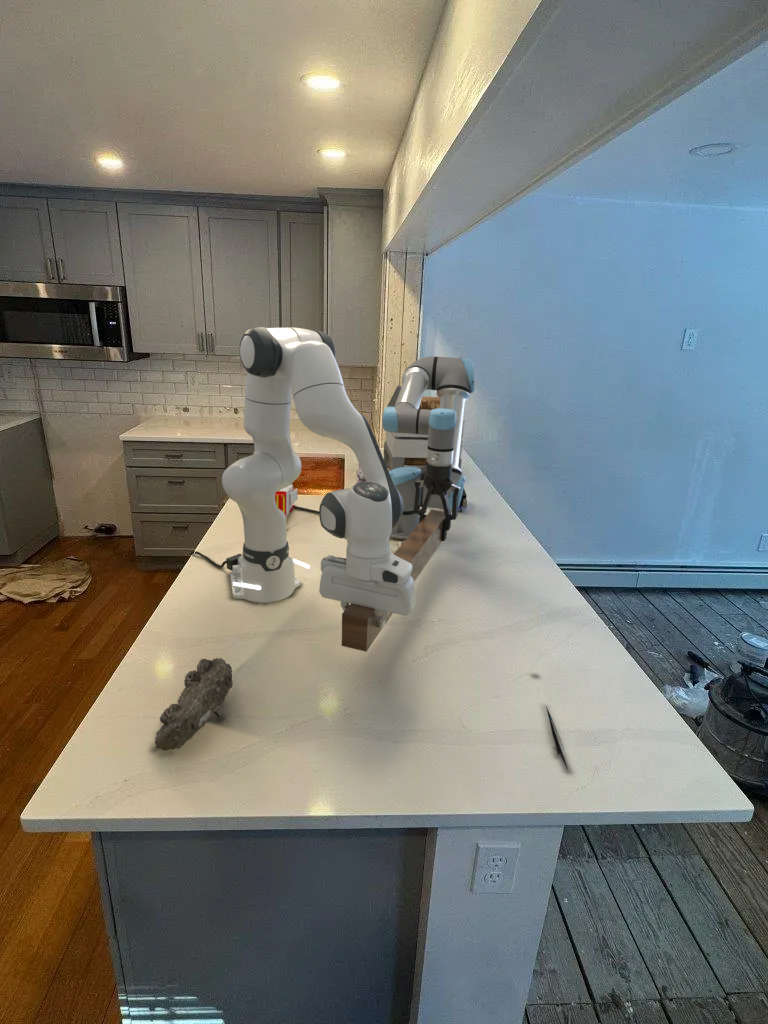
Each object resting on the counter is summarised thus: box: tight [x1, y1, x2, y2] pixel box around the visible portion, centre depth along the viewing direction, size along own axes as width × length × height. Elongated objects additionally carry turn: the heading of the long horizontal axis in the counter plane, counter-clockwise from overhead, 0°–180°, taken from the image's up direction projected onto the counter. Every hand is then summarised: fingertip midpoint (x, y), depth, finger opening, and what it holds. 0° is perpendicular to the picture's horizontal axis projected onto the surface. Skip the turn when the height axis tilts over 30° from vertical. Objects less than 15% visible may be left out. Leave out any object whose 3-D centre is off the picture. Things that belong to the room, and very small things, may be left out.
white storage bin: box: [383, 384, 465, 472], centre depth 268 cm, size 34×33×41 cm
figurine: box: [355, 464, 366, 484], centre depth 237 cm, size 9×10×15 cm
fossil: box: [154, 657, 234, 752], centre depth 107 cm, size 22×10×15 cm
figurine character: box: [458, 488, 468, 512], centre depth 228 cm, size 7×8×15 cm
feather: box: [535, 673, 569, 770], centre depth 112 cm, size 2×28×2 cm
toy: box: [275, 484, 299, 518], centre depth 210 cm, size 12×13×30 cm
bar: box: [341, 508, 445, 653], centre depth 144 cm, size 69×6×7 cm, turn 161°
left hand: (365, 622), depth 119 cm, fingers closed on bar, 5 cm apart
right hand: (433, 537), depth 171 cm, fingers closed on bar, 6 cm apart
